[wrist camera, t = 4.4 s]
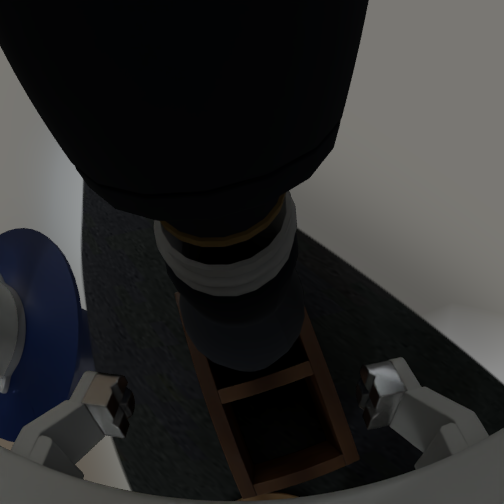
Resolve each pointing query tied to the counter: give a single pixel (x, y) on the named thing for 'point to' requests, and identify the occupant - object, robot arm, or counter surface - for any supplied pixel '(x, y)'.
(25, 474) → the robot arm
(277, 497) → the coaster
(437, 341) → the counter surface
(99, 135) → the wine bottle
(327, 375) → the wooden compartment tray
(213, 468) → the counter surface
